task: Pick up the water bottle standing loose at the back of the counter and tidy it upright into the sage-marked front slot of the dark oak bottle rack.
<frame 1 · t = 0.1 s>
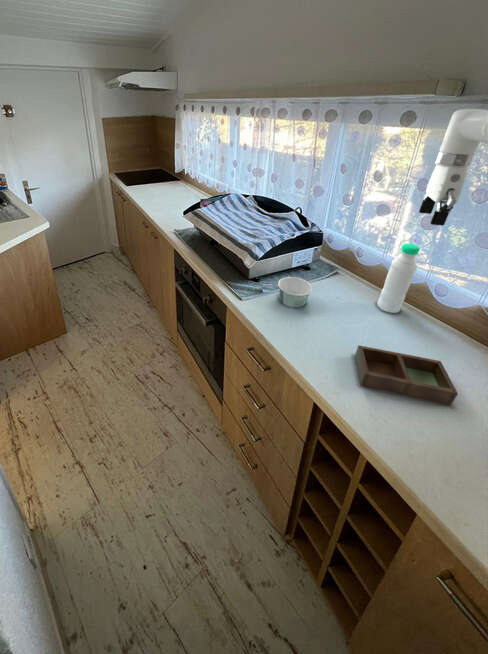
hand: (430, 218, 91), 35 cm above the worktop, tool pointing down, fingers open, 9 cm apart
food container: (292, 300, 115), on the worktop
rack: (398, 379, 83), on the worktop
water bottle: (387, 308, 110), on the worktop
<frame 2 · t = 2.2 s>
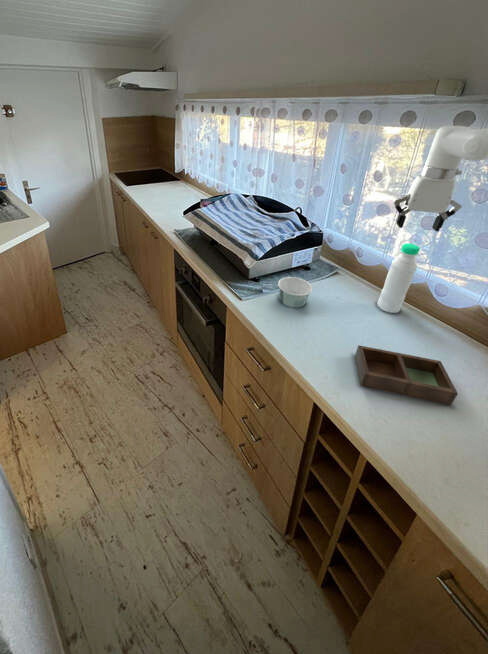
hand: (417, 228, 95), 31 cm above the worktop, tool pointing down, fingers open, 9 cm apart
nothing on the worktop moved.
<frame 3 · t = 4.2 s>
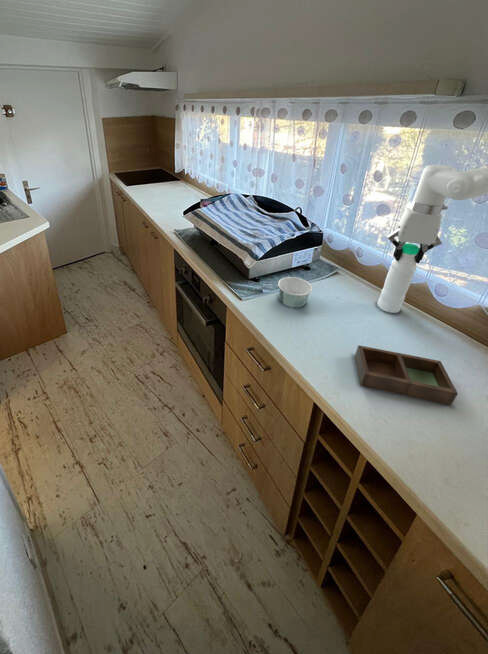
hand: (406, 259, 100), 20 cm above the worktop, tool pointing down, fingers closed on water bottle, 5 cm apart
water bottle: (387, 308, 110), on the worktop, touching gripper
everything else where it was.
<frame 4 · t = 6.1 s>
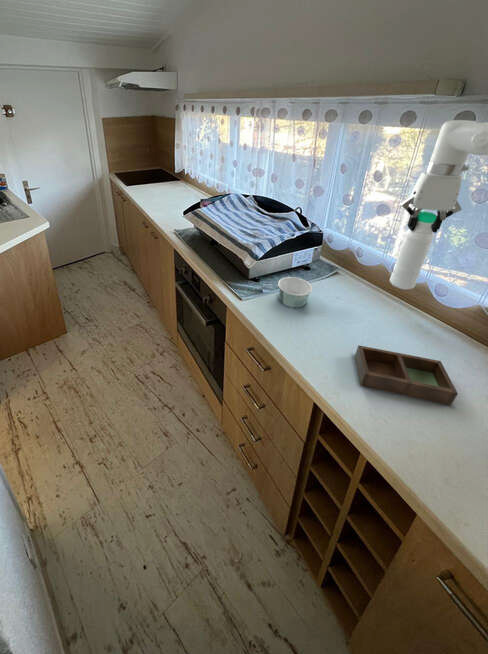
hand: (422, 229, 92), 32 cm above the worktop, tool pointing down, fingers closed on water bottle, 5 cm apart
water bottle: (401, 284, 102), point 12 cm above the worktop, touching gripper
everything else where it was.
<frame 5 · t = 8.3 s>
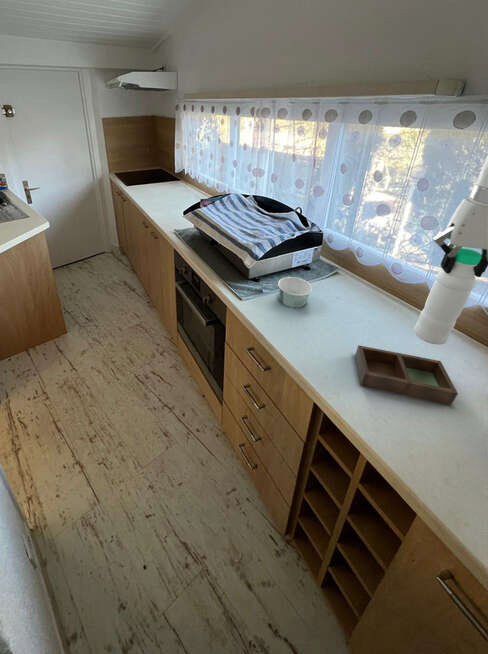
hand: (460, 271, 71), 32 cm above the worktop, tool pointing down, fingers closed on water bottle, 5 cm apart
water bottle: (429, 336, 80), point 12 cm above the worktop, touching gripper
everything else where it was.
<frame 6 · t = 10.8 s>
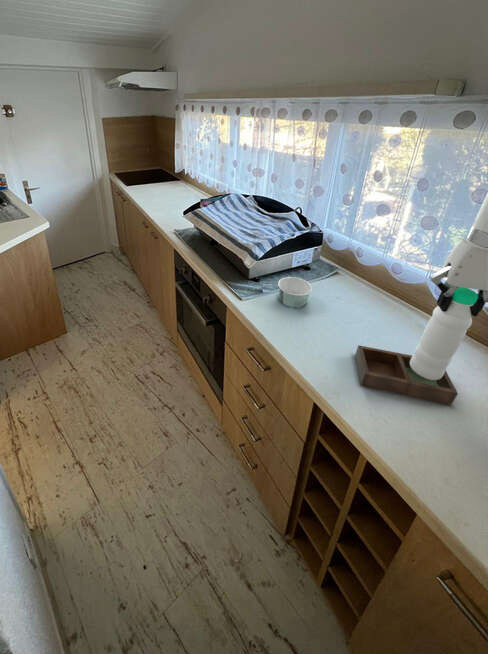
hand: (456, 309, 70), 25 cm above the worktop, tool pointing down, fingers closed on water bottle, 5 cm apart
water bottle: (424, 370, 79), point 5 cm above the worktop, touching gripper
everything else where it was.
when the fingers open (21 cm above the worktop, at t = 12.4 s): water bottle stays where it is, resting on rack.
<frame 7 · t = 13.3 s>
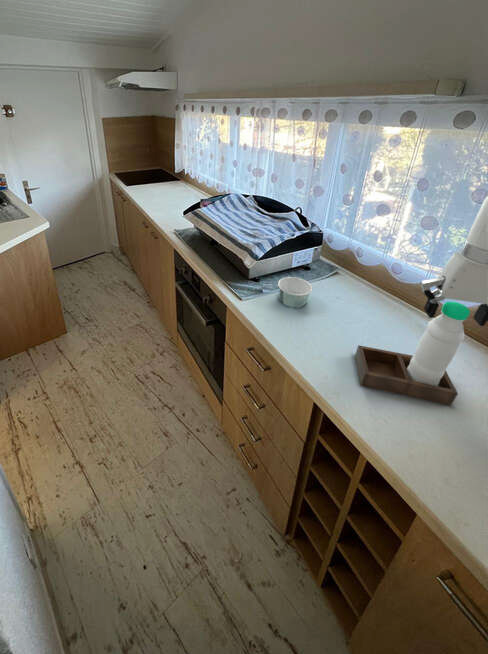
hand: (452, 318, 71), 22 cm above the worktop, tool pointing down, fingers open, 9 cm apart
water bottle: (419, 381, 81), point 1 cm above the worktop, touching rack
everything else where it was.
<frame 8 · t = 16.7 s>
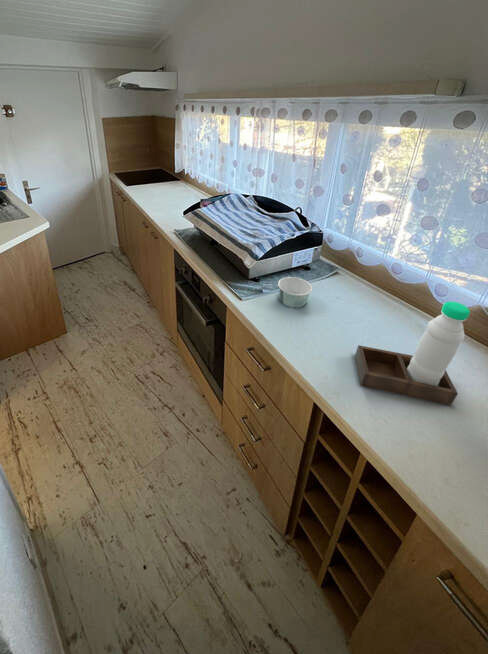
nothing on the worktop moved.
at the end: water bottle 0.1 cm from the target spot in the rack, point 0.6 cm above the rack's base; water bottle tilted 0°; the gripper is holding nothing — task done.
